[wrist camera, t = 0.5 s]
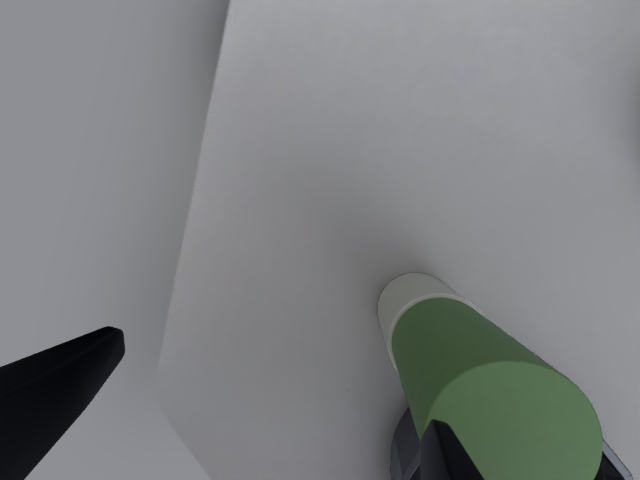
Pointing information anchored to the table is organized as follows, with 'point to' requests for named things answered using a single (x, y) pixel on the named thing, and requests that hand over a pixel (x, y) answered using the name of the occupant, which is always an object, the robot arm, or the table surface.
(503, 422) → the leek
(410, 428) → the pan
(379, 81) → the table surface
